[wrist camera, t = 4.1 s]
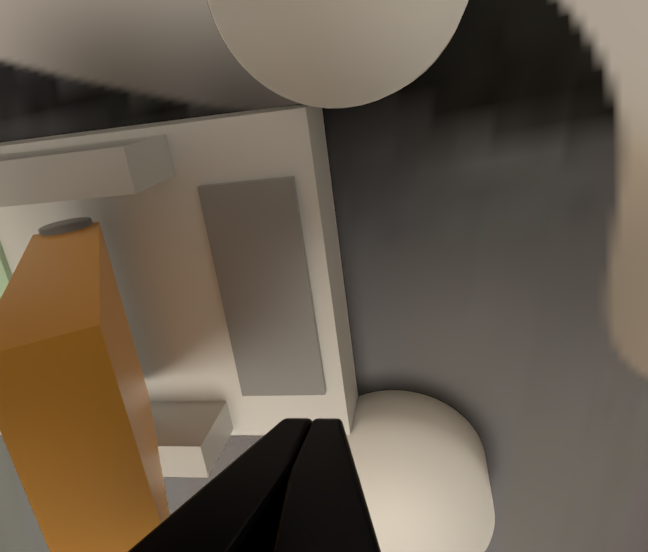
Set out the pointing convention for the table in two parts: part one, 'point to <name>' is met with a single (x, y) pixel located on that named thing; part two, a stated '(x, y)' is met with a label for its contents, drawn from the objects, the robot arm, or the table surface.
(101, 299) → the long orange brick
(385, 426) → the cream dome knob
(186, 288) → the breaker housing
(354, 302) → the table surface
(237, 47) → the cream round disc
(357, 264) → the table surface
